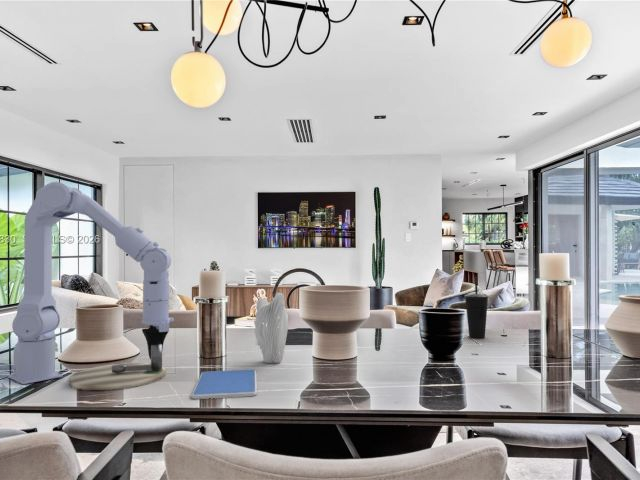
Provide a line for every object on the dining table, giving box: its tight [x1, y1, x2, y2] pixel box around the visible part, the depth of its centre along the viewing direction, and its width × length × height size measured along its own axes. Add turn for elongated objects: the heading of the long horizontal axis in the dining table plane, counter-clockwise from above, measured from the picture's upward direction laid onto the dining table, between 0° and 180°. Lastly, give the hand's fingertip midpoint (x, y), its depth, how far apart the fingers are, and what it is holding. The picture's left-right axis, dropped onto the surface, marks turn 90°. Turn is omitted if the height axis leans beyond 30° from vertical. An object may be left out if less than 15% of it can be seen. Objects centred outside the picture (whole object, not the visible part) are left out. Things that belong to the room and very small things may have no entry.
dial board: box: [67, 362, 167, 391], centre depth 104 cm, size 20×20×1 cm
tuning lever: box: [112, 344, 163, 373], centre depth 105 cm, size 11×3×6 cm, turn 103°
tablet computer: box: [190, 369, 258, 400], centre depth 99 cm, size 19×13×1 cm, turn 8°
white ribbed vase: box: [254, 292, 289, 364], centre depth 119 cm, size 8×8×18 cm
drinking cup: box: [464, 275, 490, 340], centre depth 152 cm, size 8×8×20 cm
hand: (155, 359), depth 108 cm, fingers closed, pressing on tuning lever
